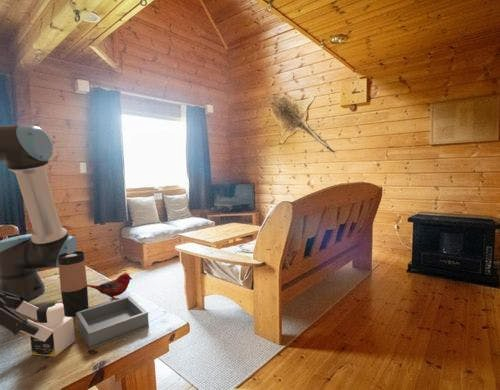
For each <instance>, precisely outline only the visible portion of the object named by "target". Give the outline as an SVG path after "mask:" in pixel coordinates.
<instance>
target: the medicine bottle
mask: <svg viewBox="0 0 500 390" xmlns="http://www.w3.org/2000/svg"><path fill="white" fill-rule="evenodd" d="M36 313H37V320H36V321H37V322H36V323H38V324H40V325H42V326H44V327H47V328H49V329H51V330H53V332H52V334H51V335H50V336H49V337H48V338H47V340H46V341H45V342H44V341H41V340H39V339H37V338H34V337H32V336H29V337H30V347H31V354H32V355H37V356H44V357H46V356H47V357H56V356H58V355H59V354H60V353H62V352H63V351H64V350H65V349H67V348H68V347H70V345H71V346H72V344H73V343H75V341H76V335H75V326H74V317H67V316H65V315H64V306H63V302H60V301H59V302H58V301H57V302H56V301H53V302H48V303H45V304H44V305H41V306H40V307H38V310H37V311H36Z"/></svg>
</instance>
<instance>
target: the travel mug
mask: <svg viewBox="0 0 500 390" xmlns="http://www.w3.org/2000/svg"><path fill="white" fill-rule="evenodd" d="M58 265H59V268H58V274H59V284H60V285H59V286H60V293H61V299H62V300H61V303H62V304H63V306H64V316H65V317H72V318H74V317H76V312H79V311H82V310H85V309H89V292H88V286H87V285H88V281H87V280H88V279H87V272H86V271H87V269H86V261H85V253H84V251H82V250H77V251H75V252H74V253H71V254H67V253H63V254H61V255H59V256H58Z"/></svg>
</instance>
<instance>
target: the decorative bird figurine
mask: <svg viewBox="0 0 500 390" xmlns="http://www.w3.org/2000/svg"><path fill="white" fill-rule="evenodd" d="M131 280H133V278H132V277H131V276H130V274H129V273H127V272H125V273H122V274H120V275H119V276H118V277H117V278H115V279H113V280H109V281H106V282H103V283H101V284H99V285H94V284H87V288H92V289H95V290H97V291H98V292H99V293H101V294H102V295H105V296H108V297H109V300H111V301H115V300H118V299H120V298H119V297H118V296H120V295H122V294H124V293H125V291H127V289H128V288H129V287H128V286H129V284H130V282H131ZM109 300H108V301H109Z"/></svg>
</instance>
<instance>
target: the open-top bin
mask: <svg viewBox="0 0 500 390" xmlns="http://www.w3.org/2000/svg"><path fill="white" fill-rule="evenodd" d="M75 320H76V326H77V329H78V330H79V332H80V335H82V337H83V339H84V341H85V343H86V345H87V346H88V348H89V350H93V349H96V348H98V347H100V346H103V345H106V344H108V343H111V342H114V341H116V340H119V339H121V338H124V337H126V336H128V335H131V334H134V333H136V332H139V331H142V330H144V329H146V328H150V324H149V312H148V311H147V310H146V309H144V308H143V307H142V305H140V304H139V303H138V302H137V301H135V299H133V298H132V297H131V296H130V295H128V296H125V297H122V298H119V299H118V300H111V301H109V302H105V303H101V304H98V305H95V306H92V307H88V309H85V310H82V311H79V312H76V316H75Z"/></svg>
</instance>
